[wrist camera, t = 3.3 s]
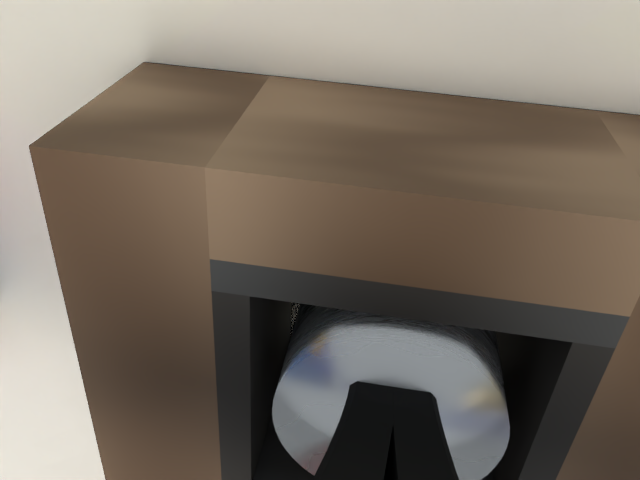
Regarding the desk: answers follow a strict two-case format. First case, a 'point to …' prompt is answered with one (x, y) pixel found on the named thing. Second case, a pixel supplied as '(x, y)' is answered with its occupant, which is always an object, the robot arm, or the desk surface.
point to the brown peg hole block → (340, 258)
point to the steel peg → (391, 381)
